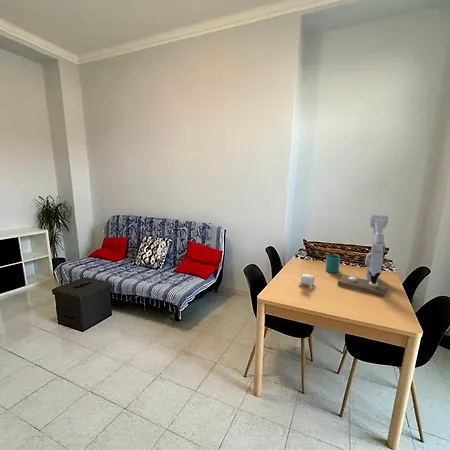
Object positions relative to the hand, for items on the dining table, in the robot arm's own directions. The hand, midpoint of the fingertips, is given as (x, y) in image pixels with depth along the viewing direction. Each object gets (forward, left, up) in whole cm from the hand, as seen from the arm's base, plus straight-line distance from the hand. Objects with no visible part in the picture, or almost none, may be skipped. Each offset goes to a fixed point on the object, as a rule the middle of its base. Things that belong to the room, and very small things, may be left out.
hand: (373, 283), depth 165 cm
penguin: (+21, -34, -5) cm, 40 cm away
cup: (-18, -30, -5) cm, 35 cm away
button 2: (0, 0, -4) cm, 4 cm away
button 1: (0, -12, -4) cm, 13 cm away
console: (0, -6, -4) cm, 7 cm away
